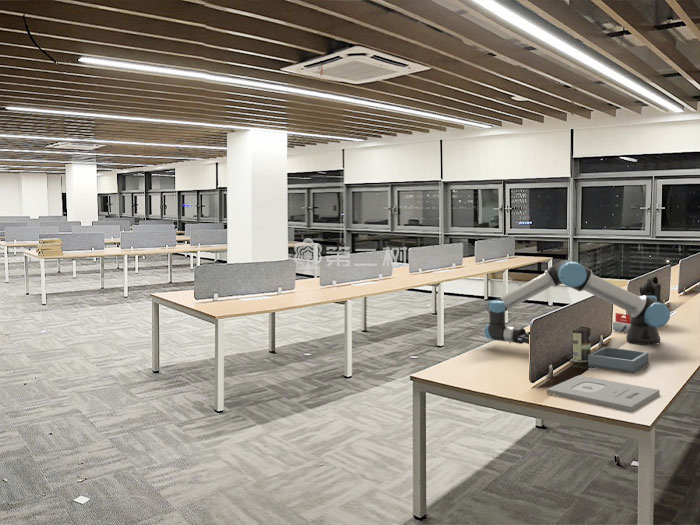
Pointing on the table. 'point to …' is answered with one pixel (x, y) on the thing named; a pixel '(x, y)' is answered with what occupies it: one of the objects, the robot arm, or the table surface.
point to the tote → (618, 359)
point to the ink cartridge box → (621, 323)
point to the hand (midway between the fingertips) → (558, 340)
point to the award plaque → (604, 392)
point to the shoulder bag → (651, 288)
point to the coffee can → (581, 344)
